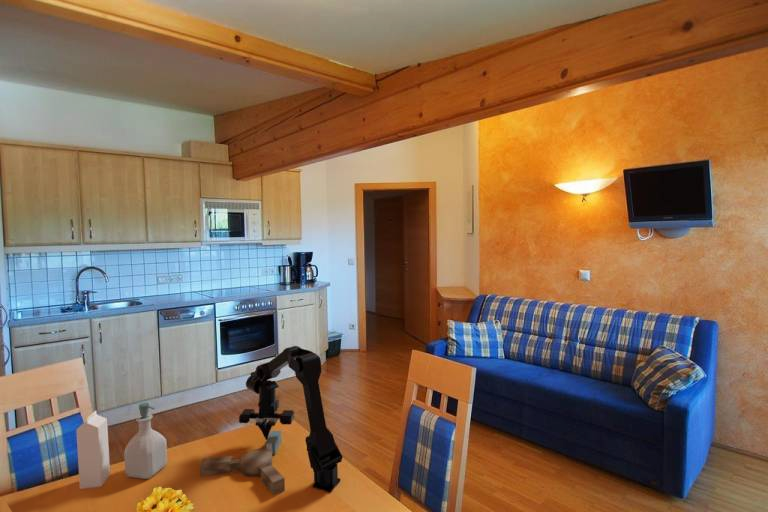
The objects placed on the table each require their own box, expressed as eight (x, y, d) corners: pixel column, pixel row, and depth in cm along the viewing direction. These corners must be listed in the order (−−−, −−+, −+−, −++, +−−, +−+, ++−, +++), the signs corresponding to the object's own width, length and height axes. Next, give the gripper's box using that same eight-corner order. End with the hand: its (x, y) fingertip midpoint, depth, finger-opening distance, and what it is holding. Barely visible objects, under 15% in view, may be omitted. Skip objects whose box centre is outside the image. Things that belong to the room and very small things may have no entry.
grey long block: (273, 457, 141) (273, 445, 141) (263, 458, 141) (263, 445, 141) (281, 441, 152) (281, 429, 152) (271, 441, 152) (271, 430, 152)
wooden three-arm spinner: (305, 469, 134) (305, 458, 134) (276, 498, 120) (276, 485, 120) (231, 450, 146) (230, 440, 146) (196, 475, 132) (195, 463, 132)
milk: (79, 489, 125) (74, 419, 123) (89, 477, 131) (85, 410, 129) (101, 486, 126) (97, 417, 125) (110, 475, 132) (106, 408, 131)
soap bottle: (148, 482, 128) (145, 411, 127) (122, 478, 130) (118, 409, 129) (170, 464, 138) (167, 398, 136) (145, 461, 140) (142, 396, 138)
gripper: (297, 389, 156) (297, 429, 157) (248, 387, 156) (248, 427, 157) (291, 402, 145) (290, 444, 146) (238, 400, 145) (238, 442, 146)
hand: (266, 439), depth 149 cm, fingers closed
